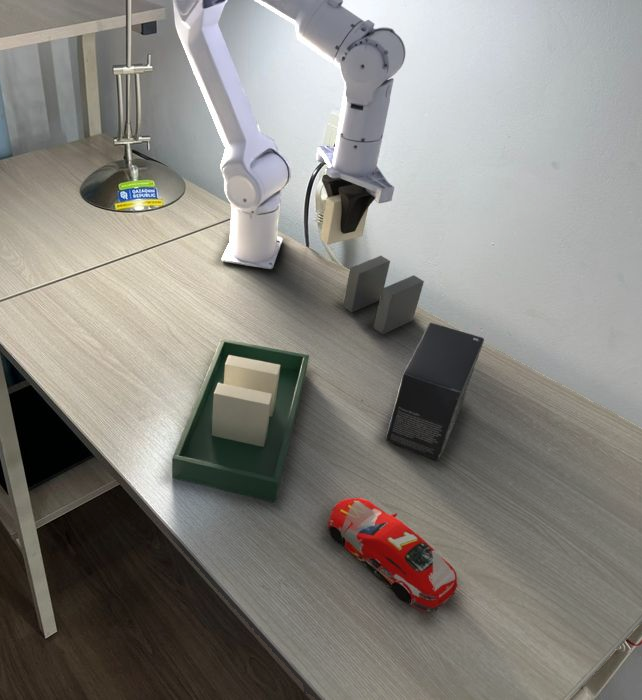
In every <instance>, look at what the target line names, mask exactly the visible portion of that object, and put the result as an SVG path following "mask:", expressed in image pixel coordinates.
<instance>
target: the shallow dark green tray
mask: <svg viewBox="0 0 642 700" xmlns="http://www.w3.org/2000/svg"><path fill="white" fill-rule="evenodd" d="M228 355H232V356H237V357H242V358H247V359H252V360H258V361H263V362H268V363H273V364H278V365H281V366H280V373H279V380H278V388H277V395H276V403H275V408H274V412H273V416H272V417H271V416H269V423H268V431H267V437H266V441H265V445H264V447H261V446H257V445H252V444H248V443H243V442H239V441H234V440H230V439H225V438H221V437H216V436H212V419H213V401H214V392H215V389H216V387H217V384H218V383H221V384H224V372H225V363H226V361H227V358H228ZM309 359H310V355H309V354H304V353H300V352H294V351H289V350H284V349H279V348H274V347H269V346H263V345H258V344H253V343H248V342H242V341H236V340H231V339H226V338H220V340H219V343H218V345H217V347H216V350H215V352H214V355H213V357H212V360H211V362H210V364H209V367H208V370H207V372H206V374H205V377H204V379H203V381H202V385H201V387H200V389H199V391H198V394H197V397H196V399H195V402H194V404H193V406H192V409H191V411H190V414H189V416H188V419H187V420H186V423H185V426H184V428H183V431H182V433H181V436H180V438H179V441H178V443H177V445H176V448H175V451H174V453H173V454H172V458H171V478H172V479H175V480H180V481H184V482H188V483H193V484H197V485H201V486H205V487H208V488H213V489H218V490H222V491H226V492H230V493H234V494H238V495H243V496H247V497H251V498H255V499H258V500H263V501H268V502H271V503H276V501H277V498H278V494H279V489H280V485H281V481H282V477H283V473H284V469H285V464H286V459H287V456H288V451H289V448H290V443H291V439H292V436H293V435H292V434H293V431H294V426H295V423H296V418H297V413H298V409H299V405H300V400H301V397H302V393H303V388H304V384H305V380H306V375H307V371H308V364H309Z"/></svg>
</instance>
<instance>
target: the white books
mask: <svg viewBox="0 0 642 700" xmlns="http://www.w3.org/2000/svg"><path fill="white" fill-rule="evenodd" d="M280 366H281V365H278V364H273V363H268V362H263V361H258V360H252V359H247V358H242V357H237V356H232V355H228V358H227V361H226V363H225V372H224V384H221V383H218V384H217V387H216V389H215V392H214V401H213V419H212V436H216V437H221V438H225V439H230V440H234V441H239V442H243V443H248V444H252V445H257V446H261V447H264V445H265V441H266V437H267V431H268V423H269V416H271V417H272V416H273V412H274V408H275V403H276V395H277V388H278V380H279V373H280Z"/></svg>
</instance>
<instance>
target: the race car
mask: <svg viewBox="0 0 642 700" xmlns="http://www.w3.org/2000/svg"><path fill="white" fill-rule="evenodd" d="M397 515H398V512H394V513H392V514H389V513H387V512H386V511H384V510H382V509H381V508H379V507H378V505H376V504H374V503H373V502H372V501H370V500H367V499H364V498H360V497H353V498H345V499H342V500H341V501H339V502H337V503H336V504H335V505H334V506H333V507H332V509H331V510H330V513H329V516H328V523H327V530H328V531H329V534H330V536H331V538H332V539H333V541H334V542H335V543H337V544H339V545H344V546H343V547H344V548H345V549H346V550H347V551H348V552H349V553H350V554H351V555H353V556H354V557H355V558H356V559H357V560H359V561H360V562H361V563H362V564H363V565H364V566H365V567H366V568H368V569H369V571H371V572H372V573H373V574H374V575H375V576H377V577H378V578H379V579H380V580H381V581H382V582H383V583H384V584H386V586H387V587H389V588H390V589H391V588H392V589H393V592H394V594H395V595H396V596H397V598H398V599H399V600H401V601H402V602H405V603H409V602H410V603H409V605H410V606H411V607H414V608H415V609H418V610H420V611H424V612H428V613H429V612H430V613H431V612H433V611H434V612H437V610H439V609H440V608H441V607H442V606H444V605H445V604H446V603H447V602H448V601H449V600H450V599H451V598H452V597H453V596H454V595H455V594H456V592H455V591H456V590H457V587H458V576H457V572H456V569H455V568H454V567H453V566H452V565H451V564H450V563H449V562H448V561H447V560H446V559H445V558H444V557H442V556H441V555H440V554H439V553H438V551H436V550H435V548H433V547H432V546H431V545H430V544H429V543H427V542H426V540H424V539H423V538H422V537H421V536H419V534H418V533H417V532H416V531H414V530H413V529H411V528H410V527H409V526H407V524H405V523H404V522H403V521H401V520H400V519H398V518H397Z"/></svg>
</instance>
